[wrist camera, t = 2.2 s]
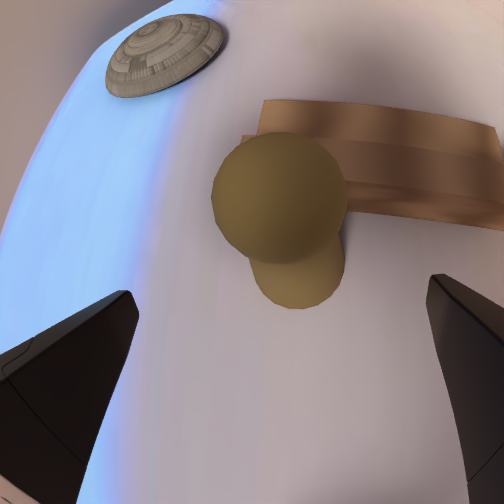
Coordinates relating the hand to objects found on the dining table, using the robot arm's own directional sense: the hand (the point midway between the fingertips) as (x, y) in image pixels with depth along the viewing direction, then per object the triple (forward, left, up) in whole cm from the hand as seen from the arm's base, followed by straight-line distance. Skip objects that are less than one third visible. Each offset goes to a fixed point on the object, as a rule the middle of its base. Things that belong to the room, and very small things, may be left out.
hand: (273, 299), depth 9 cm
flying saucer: (+7, +32, -12) cm, 35 cm away
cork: (+3, +3, -12) cm, 12 cm away
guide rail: (+11, +2, -11) cm, 16 cm away
